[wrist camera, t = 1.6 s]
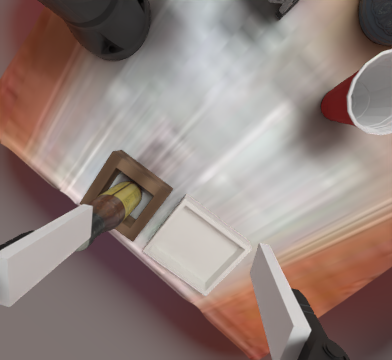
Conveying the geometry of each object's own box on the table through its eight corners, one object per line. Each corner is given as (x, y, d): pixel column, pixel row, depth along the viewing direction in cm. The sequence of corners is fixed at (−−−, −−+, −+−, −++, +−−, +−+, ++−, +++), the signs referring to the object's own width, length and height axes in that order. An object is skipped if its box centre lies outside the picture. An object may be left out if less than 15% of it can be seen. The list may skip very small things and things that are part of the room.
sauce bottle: (113, 199, 46) (41, 247, 27) (121, 175, 44) (51, 207, 25) (139, 210, 46) (87, 266, 27) (148, 186, 44) (99, 227, 25)
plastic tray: (147, 243, 48) (142, 251, 44) (186, 193, 44) (184, 198, 41) (206, 285, 49) (205, 296, 46) (249, 240, 45) (252, 249, 42)
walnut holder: (90, 197, 46) (79, 203, 42) (121, 149, 43) (112, 151, 39) (139, 232, 47) (132, 241, 43) (173, 188, 44) (169, 194, 40)
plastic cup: (332, 146, 39) (383, 151, 28) (295, 108, 38) (330, 97, 27) (380, 102, 37) (458, 88, 25) (341, 60, 36) (403, 25, 24)
